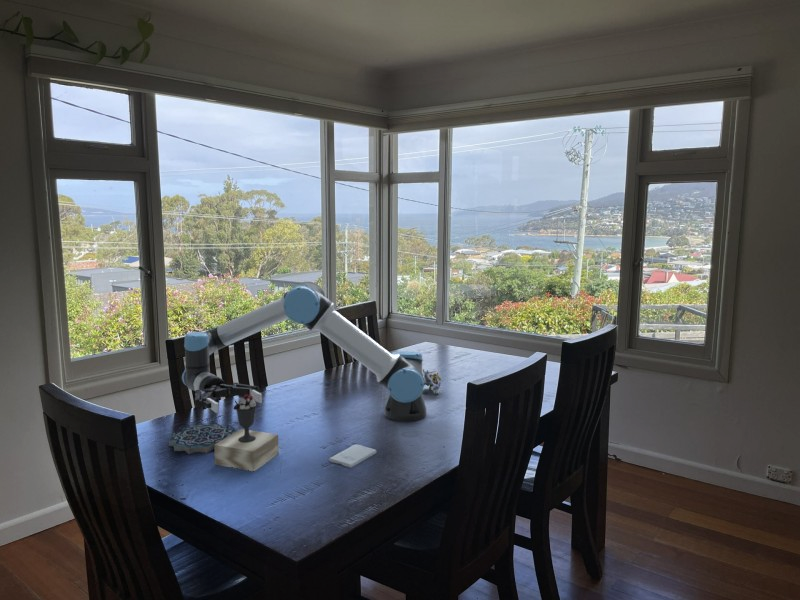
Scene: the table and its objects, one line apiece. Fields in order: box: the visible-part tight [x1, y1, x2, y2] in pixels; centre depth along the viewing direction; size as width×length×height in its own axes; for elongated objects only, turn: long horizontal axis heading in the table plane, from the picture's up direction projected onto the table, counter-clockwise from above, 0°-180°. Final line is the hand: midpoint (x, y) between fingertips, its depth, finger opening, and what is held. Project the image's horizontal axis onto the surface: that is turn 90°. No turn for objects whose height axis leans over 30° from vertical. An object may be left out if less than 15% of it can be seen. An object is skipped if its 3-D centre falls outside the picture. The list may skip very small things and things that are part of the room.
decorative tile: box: [168, 422, 238, 455], centre depth 183 cm, size 20×20×2 cm
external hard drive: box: [328, 443, 377, 469], centre depth 172 cm, size 2×8×12 cm
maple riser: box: [214, 428, 280, 472], centre depth 169 cm, size 13×13×6 cm
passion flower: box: [422, 368, 442, 395], centre depth 233 cm, size 11×11×12 cm
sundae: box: [233, 389, 259, 442], centre depth 168 cm, size 7×7×15 cm
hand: (239, 403), depth 170 cm, fingers open, 13 cm apart
